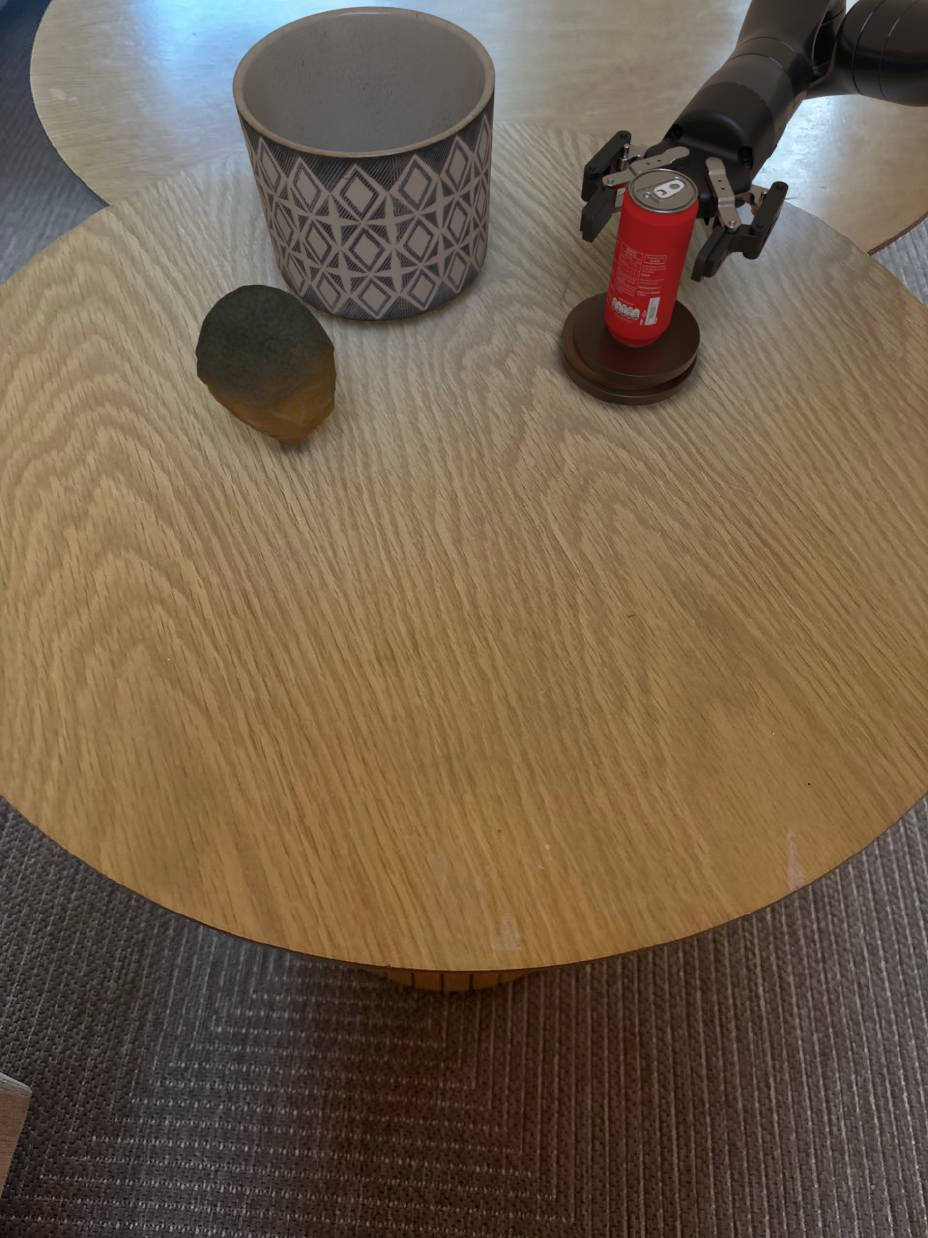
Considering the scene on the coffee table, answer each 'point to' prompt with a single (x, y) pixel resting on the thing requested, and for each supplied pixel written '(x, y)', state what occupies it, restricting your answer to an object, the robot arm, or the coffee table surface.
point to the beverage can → (650, 255)
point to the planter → (371, 157)
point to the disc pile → (628, 356)
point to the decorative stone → (268, 362)
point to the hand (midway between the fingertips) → (641, 250)
